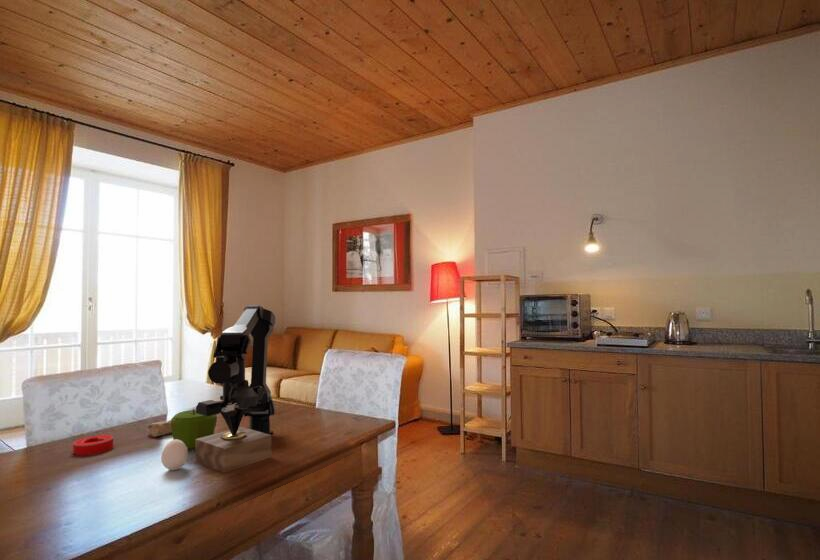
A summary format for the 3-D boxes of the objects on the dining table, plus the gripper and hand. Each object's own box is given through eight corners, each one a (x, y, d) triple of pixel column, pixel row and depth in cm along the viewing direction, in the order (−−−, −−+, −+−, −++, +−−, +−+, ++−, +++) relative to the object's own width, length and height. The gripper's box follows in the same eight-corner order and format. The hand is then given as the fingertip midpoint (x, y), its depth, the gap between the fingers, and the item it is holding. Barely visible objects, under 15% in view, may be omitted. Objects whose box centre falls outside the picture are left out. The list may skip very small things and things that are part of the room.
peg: (217, 458, 122) (217, 435, 123) (237, 452, 127) (237, 429, 127) (229, 463, 119) (230, 438, 119) (249, 456, 124) (249, 433, 124)
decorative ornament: (64, 456, 128) (64, 444, 128) (89, 445, 138) (90, 434, 138) (97, 456, 128) (97, 444, 128) (120, 445, 137) (120, 434, 137)
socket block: (195, 461, 122) (195, 439, 122) (241, 447, 133) (241, 426, 133) (224, 473, 113) (224, 448, 113) (271, 456, 124) (271, 434, 125)
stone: (145, 434, 148) (145, 420, 148) (179, 428, 155) (180, 414, 155) (151, 440, 141) (151, 425, 141) (187, 433, 148) (187, 419, 149)
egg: (183, 463, 120) (183, 434, 121) (191, 469, 116) (191, 439, 116) (158, 469, 116) (158, 439, 116) (165, 476, 112) (165, 445, 112)
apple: (223, 446, 134) (223, 408, 134) (180, 457, 125) (180, 416, 125) (205, 438, 142) (206, 402, 143) (164, 447, 133) (164, 409, 134)
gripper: (218, 385, 112) (218, 449, 111) (280, 374, 127) (280, 430, 126) (195, 381, 118) (194, 441, 118) (256, 371, 133) (256, 424, 133)
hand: (233, 434), depth 123 cm, fingers closed, pressing on peg
